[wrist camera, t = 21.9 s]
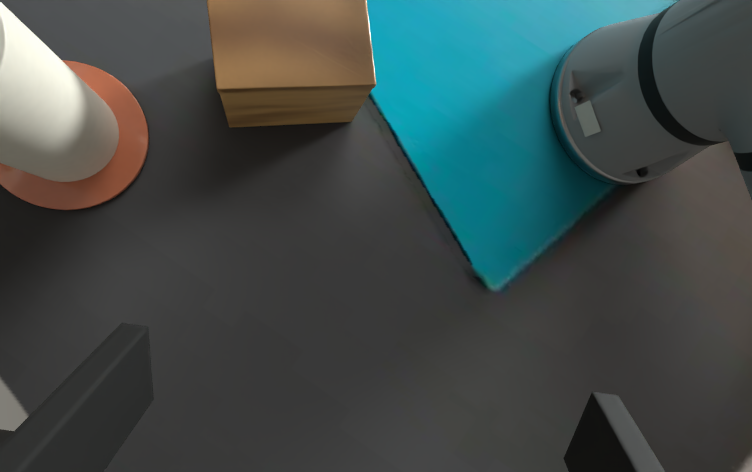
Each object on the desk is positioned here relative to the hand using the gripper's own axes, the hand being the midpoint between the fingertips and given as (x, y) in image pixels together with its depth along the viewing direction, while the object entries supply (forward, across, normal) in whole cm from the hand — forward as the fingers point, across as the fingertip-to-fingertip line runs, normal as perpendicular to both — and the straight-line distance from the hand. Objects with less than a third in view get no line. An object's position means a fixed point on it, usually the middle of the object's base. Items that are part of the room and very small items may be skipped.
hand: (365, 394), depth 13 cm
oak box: (+28, -9, +5) cm, 30 cm away
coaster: (+22, -24, 0) cm, 32 cm away
